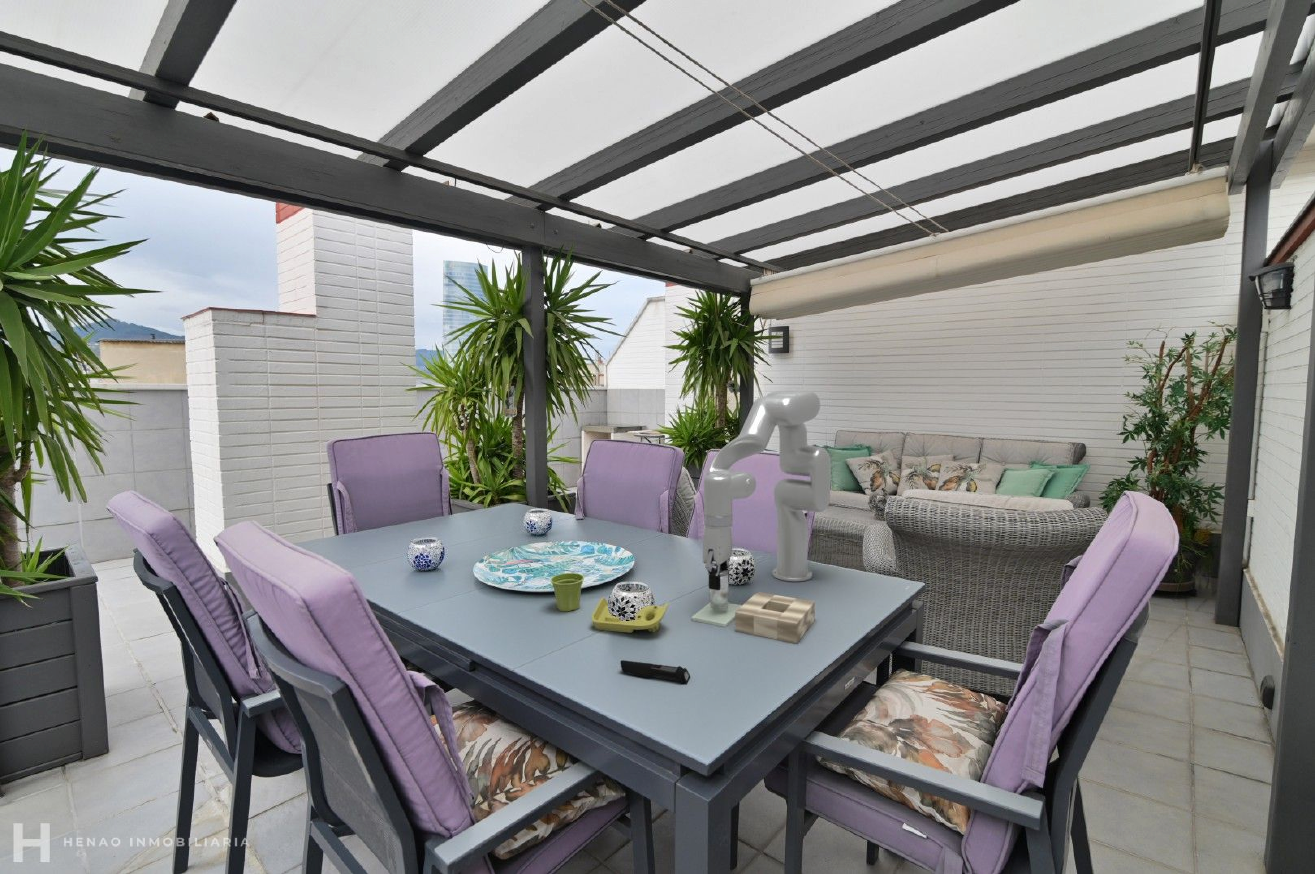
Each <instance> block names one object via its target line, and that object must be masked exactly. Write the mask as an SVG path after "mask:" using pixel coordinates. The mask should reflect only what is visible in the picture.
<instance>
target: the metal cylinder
mask: <svg viewBox="0 0 1315 874" xmlns="http://www.w3.org/2000/svg"><path fill="white" fill-rule="evenodd" d="M714 568H715V570H716V567H714ZM719 575H720V583H721V589H720V590H713V589H709V603H710V607H711V608H712V609H715V610H725V609H727V608H728V607H729V603H730V602H729V583H728V570H727V569H724V568H720V570H719Z"/></svg>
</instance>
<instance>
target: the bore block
mask: <svg viewBox="0 0 1315 874" xmlns="http://www.w3.org/2000/svg"><path fill="white" fill-rule="evenodd" d="M741 605H742V606H741V607H740V608H739V609H738V610H737V611H736V612H735V619H734V622H735V623H734V630H735V632H739V633H743V634H747V635H753V636H759V637H763V638H767V639H773V640H778V641H782V642H786V643H793V644H798V643H799V642H800V640H801V639H802V637H803V636H804V635H805V633H806V632H807V631H808V629H810V627H811V626H812V625H813V624H814V622H815V621H816V617H815V616H816V614H815V613H816V601H814V600H806V599H801V598H796V597H795V598H794V597H790V596H783V595H777V594H771V593H766V592H759V591H757V592H756V593H754V594H753V595H752V596H751V597H750V598H749V599H747V600H746V602H745V603H743V604H741Z"/></svg>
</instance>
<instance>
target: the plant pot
mask: <svg viewBox="0 0 1315 874" xmlns="http://www.w3.org/2000/svg"><path fill="white" fill-rule="evenodd" d="M584 580H585V576H584V575H583V574H580V573H576V572H564V573H559V574H556V575H554V576H552V577H551V578H550V583H551V585H552V587H553V590H554V595H555V600H556V601H555V602H556V606H557V609H558V610H559V611H560V612H570V611H574V610H575V611H576V610H578V609H579V608H580V604H581V603H580V602H581V601H580V600H581V595H582V594H581V592H582V586H583V582H584Z"/></svg>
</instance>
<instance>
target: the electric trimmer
mask: <svg viewBox="0 0 1315 874" xmlns="http://www.w3.org/2000/svg"><path fill="white" fill-rule="evenodd" d="M619 664H620V668H621V671H622V672H623V673H625V674H630V675H634V676H638V677H641V678H645V679H651V678H657V679H663V680H667V681H668V680H669V681H674V682H680V683H681V685H685V684H686V685H687V684H688V683H689V681H690V679H691V675H690V672H689V670H688V669H687V668H686V667H682V666H681V665H678V666H671V665H662V664H657V663H649V662H639V661H631V660H630V661H629V660H624V659H621V660H620V663H619Z"/></svg>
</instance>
